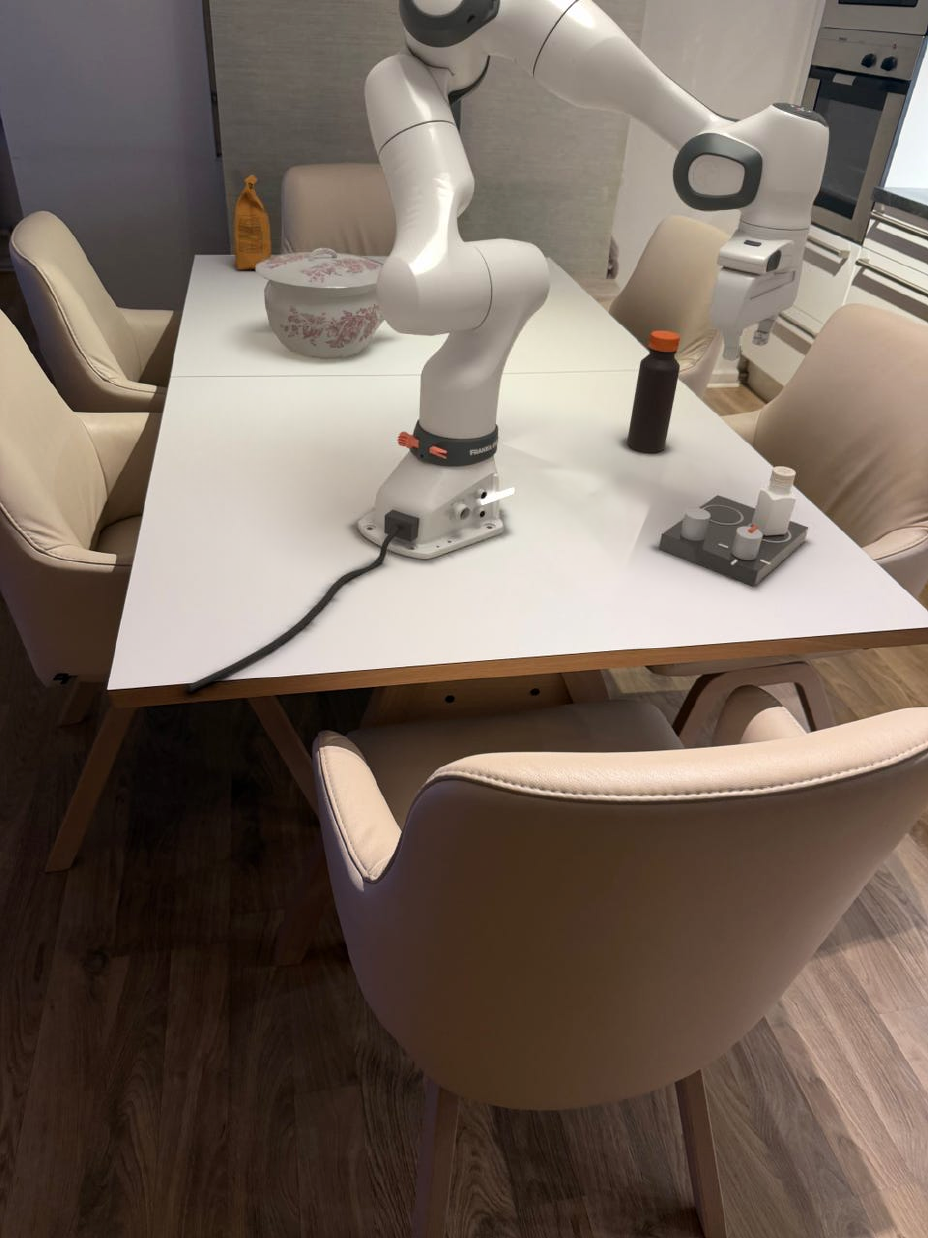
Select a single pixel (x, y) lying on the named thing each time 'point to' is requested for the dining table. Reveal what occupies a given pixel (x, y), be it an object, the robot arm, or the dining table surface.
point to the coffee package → (251, 229)
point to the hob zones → (718, 522)
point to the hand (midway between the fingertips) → (745, 351)
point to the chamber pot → (322, 301)
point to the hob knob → (747, 543)
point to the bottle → (654, 394)
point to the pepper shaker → (775, 503)
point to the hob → (719, 545)
